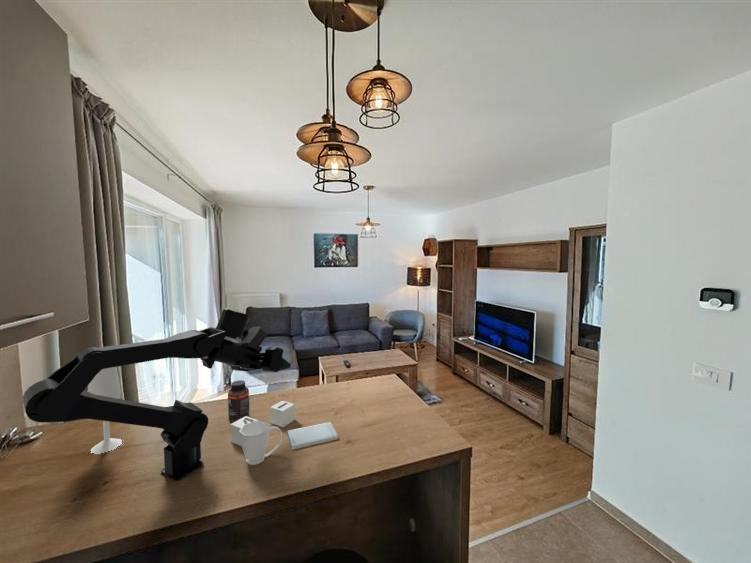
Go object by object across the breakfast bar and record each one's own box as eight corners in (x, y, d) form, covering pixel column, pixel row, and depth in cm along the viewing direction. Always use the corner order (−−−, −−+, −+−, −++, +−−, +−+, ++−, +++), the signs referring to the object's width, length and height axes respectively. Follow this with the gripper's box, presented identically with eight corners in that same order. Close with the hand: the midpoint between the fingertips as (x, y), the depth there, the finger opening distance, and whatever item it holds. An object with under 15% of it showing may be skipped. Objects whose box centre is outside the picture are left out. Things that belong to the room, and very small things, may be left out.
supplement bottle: (253, 414, 99) (252, 379, 98) (243, 424, 93) (242, 386, 92) (235, 413, 100) (234, 378, 99) (224, 422, 94) (223, 386, 93)
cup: (238, 455, 78) (238, 424, 78) (280, 444, 83) (279, 415, 82) (241, 472, 72) (240, 438, 71) (285, 459, 77) (285, 427, 76)
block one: (282, 427, 91) (282, 410, 91) (270, 423, 94) (270, 406, 93) (294, 420, 96) (294, 403, 95) (282, 416, 98) (282, 400, 98)
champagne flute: (83, 451, 80) (77, 358, 78) (112, 436, 86) (107, 351, 84) (101, 456, 78) (95, 361, 76) (130, 441, 84) (125, 353, 82)
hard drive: (291, 446, 81) (338, 435, 86) (287, 430, 88) (330, 420, 93) (291, 452, 81) (338, 440, 86) (287, 435, 88) (330, 426, 93)
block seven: (243, 447, 82) (243, 428, 81) (230, 442, 84) (230, 423, 84) (258, 437, 86) (258, 419, 86) (246, 433, 88) (245, 415, 88)
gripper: (263, 321, 79) (307, 338, 91) (222, 325, 90) (266, 340, 101) (251, 365, 75) (299, 377, 86) (209, 364, 85) (257, 375, 97)
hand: (279, 365), depth 93 cm, fingers open, 9 cm apart
